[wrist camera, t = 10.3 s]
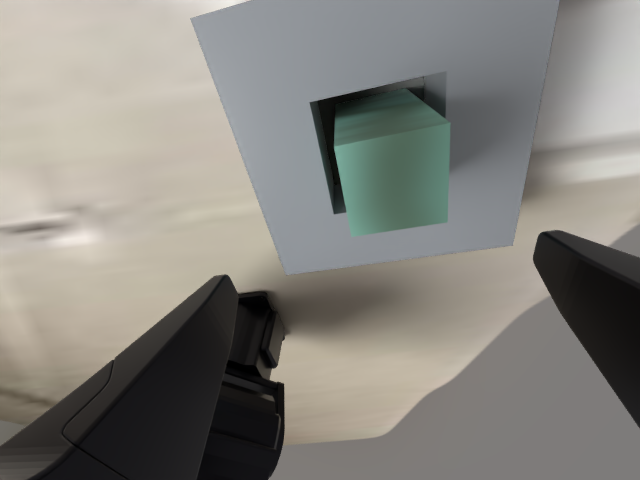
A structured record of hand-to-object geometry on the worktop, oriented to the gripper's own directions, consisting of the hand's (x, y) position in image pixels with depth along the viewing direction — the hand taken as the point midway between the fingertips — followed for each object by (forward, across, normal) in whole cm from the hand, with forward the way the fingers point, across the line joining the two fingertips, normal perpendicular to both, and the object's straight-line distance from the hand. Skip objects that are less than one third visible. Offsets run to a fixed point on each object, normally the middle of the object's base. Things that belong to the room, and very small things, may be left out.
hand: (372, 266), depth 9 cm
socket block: (+12, -1, -1) cm, 12 cm away
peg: (+12, -1, -1) cm, 12 cm away
